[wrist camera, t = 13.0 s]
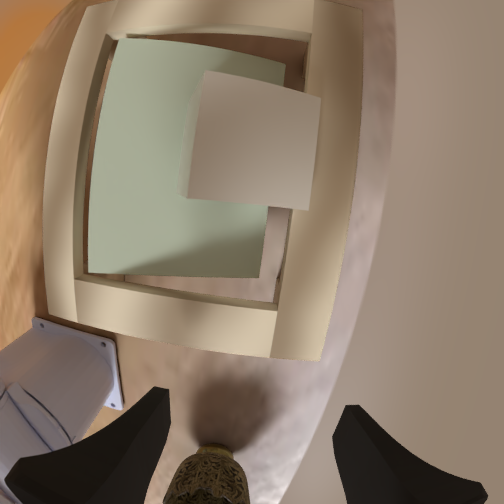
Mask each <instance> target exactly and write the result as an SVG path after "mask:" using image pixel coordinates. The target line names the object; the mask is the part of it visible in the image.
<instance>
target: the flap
mask: <svg viewBox="0 0 504 504" xmlns="http://www.w3.org/2000/svg"><path fill="white" fill-rule="evenodd" d="M285 67H286V64H283V63H280V62H277V61H273V60H269V59H266V58H262V57H258V56H254V55H250V54H245V53H241V52H236V51H232V50H227V49H221V48H216V47H210V46H204V45H198V44H191V43H183V42H175V41H165V40H153V39H136V38H119V41H118V44H117V48H116V51H115V54H114V58H113V61H112V65H111V69H110V73H109V77H108V81H107V84H106V88H105V92H104V97H103V102H102V106H101V112H100V117H99V122H98V128H97V134H96V141H95V148H94V155H93V164H92V173H91V183H90V196H89V214H88V273H107V274H129V275H154V276H184V277H225V278H259V274H260V266H261V259H262V251H263V244H264V236H265V229H266V221H267V213H268V206H263V205H254V204H244V203H234V202H223V201H212V200H200V199H187V198H185V197H183V196H181V195H179V194H177V193H176V191H177V182H178V173H179V164H180V156H181V149H182V141H183V134H184V127H185V121H186V115H187V108H188V102H189V100H190V98H191V97H192V95H193V93H194V91H195V89H196V87H197V85H198V83H199V81H200V79H201V77H202V76H203V74H204V72H205V70H208V71H214V72H220V73H225V74H230V75H236V76H240V77H245V78H250V79H254V80H259V81H263V82H267V83H271V84H275V85H279V86H282V87H283V84H284V75H285Z"/></svg>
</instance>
